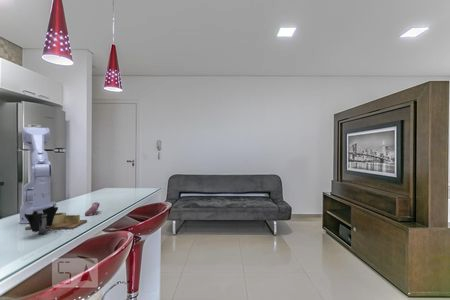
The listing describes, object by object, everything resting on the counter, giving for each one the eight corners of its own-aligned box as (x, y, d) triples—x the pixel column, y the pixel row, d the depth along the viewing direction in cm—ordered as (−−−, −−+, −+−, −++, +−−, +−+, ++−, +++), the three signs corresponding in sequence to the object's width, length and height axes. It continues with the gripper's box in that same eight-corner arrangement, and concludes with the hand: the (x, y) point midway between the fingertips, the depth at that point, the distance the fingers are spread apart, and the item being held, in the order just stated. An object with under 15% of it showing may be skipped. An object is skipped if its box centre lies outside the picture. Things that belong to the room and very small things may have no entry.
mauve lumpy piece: (92, 218, 133) (99, 206, 133) (83, 215, 131) (90, 202, 132) (96, 214, 142) (102, 202, 143) (87, 211, 141) (94, 199, 142)
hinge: (30, 225, 112) (30, 216, 112) (41, 221, 118) (40, 212, 118) (75, 225, 112) (75, 215, 112) (83, 221, 118) (83, 212, 118)
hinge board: (25, 229, 110) (25, 227, 110) (43, 222, 121) (43, 220, 121) (73, 229, 110) (73, 226, 110) (87, 222, 121) (87, 219, 121)
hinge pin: (35, 235, 103) (34, 215, 103) (41, 232, 106) (40, 213, 106) (43, 235, 103) (43, 215, 103) (49, 232, 106) (49, 213, 106)
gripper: (39, 197, 97) (39, 234, 97) (63, 191, 111) (63, 223, 111) (19, 197, 97) (20, 234, 97) (46, 191, 111) (47, 223, 111)
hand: (42, 228), depth 104 cm, fingers open, 7 cm apart
